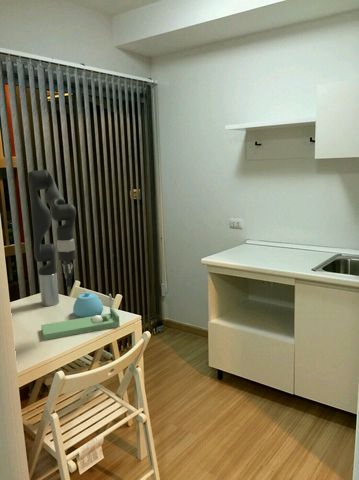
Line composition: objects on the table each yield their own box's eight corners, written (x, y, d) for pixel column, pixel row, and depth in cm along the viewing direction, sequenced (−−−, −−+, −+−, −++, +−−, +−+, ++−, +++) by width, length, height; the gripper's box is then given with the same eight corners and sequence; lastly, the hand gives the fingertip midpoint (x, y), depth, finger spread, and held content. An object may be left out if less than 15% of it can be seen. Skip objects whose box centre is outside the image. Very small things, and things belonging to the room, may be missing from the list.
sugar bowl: (68, 313, 210) (66, 292, 207) (93, 306, 220) (92, 285, 217) (82, 321, 199) (81, 299, 196) (109, 313, 209) (107, 292, 206)
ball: (98, 325, 197) (88, 321, 194) (102, 315, 197) (93, 312, 195) (100, 328, 192) (91, 325, 190) (105, 319, 193) (96, 315, 190)
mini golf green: (41, 330, 190) (40, 319, 189) (113, 317, 203) (112, 308, 202) (44, 340, 179) (43, 329, 178) (119, 326, 192) (119, 316, 191)
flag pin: (110, 317, 196) (108, 293, 194) (111, 317, 197) (110, 293, 194) (112, 320, 193) (110, 296, 191) (113, 319, 194) (112, 295, 191)
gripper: (55, 247, 186) (58, 283, 190) (59, 253, 174) (62, 291, 178) (72, 245, 189) (74, 281, 193) (77, 251, 177) (80, 289, 181)
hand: (69, 286), depth 185 cm, fingers closed
